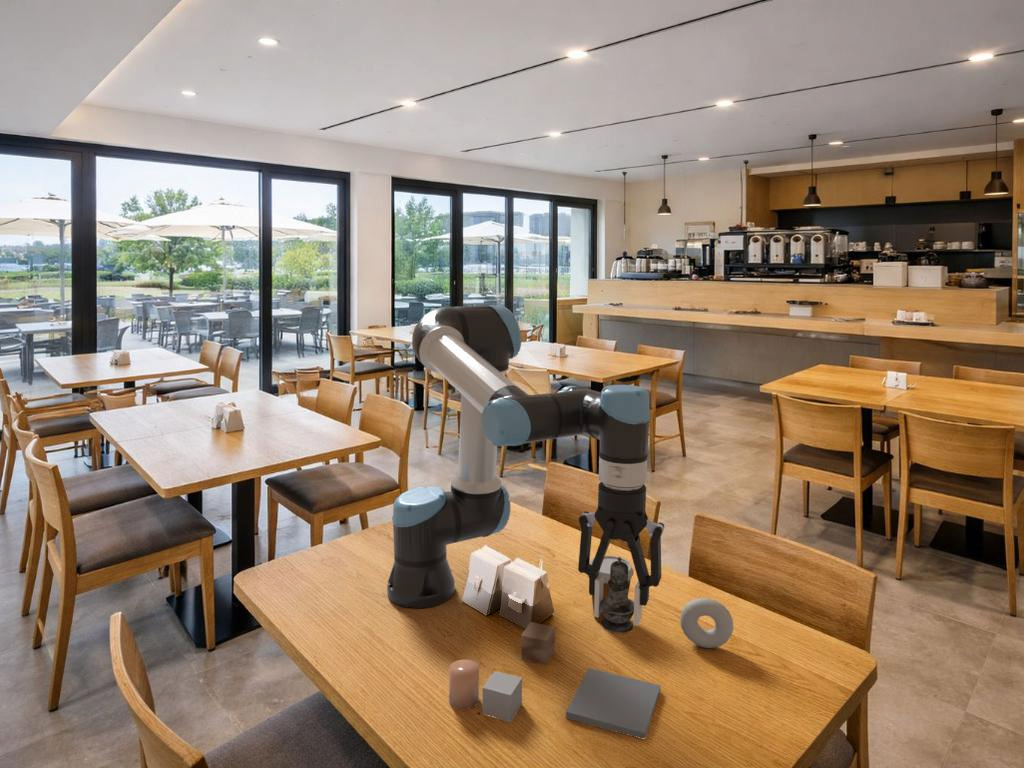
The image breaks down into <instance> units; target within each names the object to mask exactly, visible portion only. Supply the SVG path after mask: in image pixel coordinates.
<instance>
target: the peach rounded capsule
mask: <svg viewBox="0 0 1024 768" xmlns="http://www.w3.org/2000/svg"><path fill="white" fill-rule="evenodd" d="M448 668H449V671H448V675H449V678H448V682H449V683H448V689H449V690H448V702H449V704H450V706H451V707H452V708H454V709H456V708H457V709H456V710H460V709H467V710H469V709H468V708H471V707H473V708H474V707H476V706H475V705H476V704H477V705H478V703H479V694H480V693H479V691H480V690H479V685H480V681H479V680H480V678H479V677H480V667H479V664H478V663H477V662H476V661H473V660H471V659H459V660H455V661H453V662H452V663H451V664H450V665H449V667H448ZM471 709H472V708H471Z"/></svg>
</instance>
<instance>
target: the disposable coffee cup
mask: <svg viewBox="0 0 1024 768" xmlns="http://www.w3.org/2000/svg"><path fill="white" fill-rule="evenodd" d="M619 557H620V558H621V559H622V560H621V561H622V562H624V563H626V564H627V566H628V582H629V583H630V584H631V580H632V579H633V576H634V569H633V567H632V564H631V562H630V560H628V559H625V558H624V557H621V556H616V555H605V557H604V560H603V562H602V565H601V568H600V571H599V573H602V574H604V584H603V599H604V598H606V597H608V596H609V585H608V581H609V580H610V568H611V564H612V563H613V562H615V561H618V558H619ZM593 561H594V558H592V559H591V560H590V562H589V564H591V565H592V563H593ZM630 586H631V585H630ZM630 586H629V587H628V594H629V592H630ZM594 598H595V596H593V595H591V601H592V611H593V613H594ZM593 618H594V620H595V621H596V622H598V623H599V624H601V622H602V620H603V619H604V618H606V617H605V616H604V614H603V612H601V614H600V616H599V617H594V616H593Z"/></svg>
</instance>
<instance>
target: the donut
mask: <svg viewBox="0 0 1024 768" xmlns="http://www.w3.org/2000/svg"><path fill="white" fill-rule="evenodd" d="M730 612H731V611H729V610H728V609H727V607H726V606H725V605H724V604H722V603H721V602H720V601H718V600H716V599H713V598H709V597H697V598H693V599H692V600H690V601H688V603H686V604H685V605H684V607H683V608H682V610H681V612H680V617H679V620H680V627H681V629H682V631H683V634H684V635H685V636H686V638H687V639H688V640H689V641H690V642H692V643H693V644H695V645H697V646H699V647H701V648H704V649H706V648H707V649H714V648H717V647H722V646H723V645H725V644H726V643H727V642H728V641H729V640H730V639H731V637H732V636H733V632H734V631H733V630H734V628H735V627H734V619H733V617H732V615H731V613H730ZM703 616H705V617H706V616H707V617H709V618H711V619H712V620H713V621H714V623H715V625H714V627H713V628H711V629H704V628H703V627H701V625H699V619H700V618H702V617H703Z"/></svg>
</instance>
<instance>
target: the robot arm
mask: <svg viewBox="0 0 1024 768" xmlns="http://www.w3.org/2000/svg"><path fill="white" fill-rule="evenodd" d="M416 323H417V324H416V325H415V327H414V330H413V332H412V337H411V339H412V341H411V345H412V349H413V353H414V355H415V356H416V359H418V362H420V363H421V364H422V366H424V367H425V369H427V370H429V371H431V372H433V373H435V372H436V373H438V374H440V375H441V376H442V377H443V378H444V379H445V380H446V381H447V382H448V383H449V384H450V385H451V386H452V387H453V388H454V389H455V390H457V391H458V392H459V393H460V419H459V445H458V446H459V447H458V468H457V469H458V470H457V473H456V474H455V475H454V476H453V477H452V478H451V481H450V490H448V491H445V490H444V488H441V487H439V486H434V485H430V486H425V485H423V486H419V487H413V488H411V489H408V490H406V491H405V492H403V493H401V494H400V495H398V497H396V499H395V500H394V501H393V502H394V503H393V507H392V509H393V510H392V518H391V519H392V526H393V528H392V530H393V557H394V562H393V565H392V567H391V571H390V575H389V576H388V581H387V585H386V587H387V590H386V591H387V592H386V593H387V594H388V595H387V594H386V595H387V597H388V600H389V601H390V602H392V603H393V604H395V605H397V606H401V607H403V606H404V607H405V608H408V607H412V608H411V609H422V608H421V607H426V608H431V607H430V606H432V607H435V606H438V604H439V605H441V604H444V603H445V602H448V600H450V599H451V598H452V597H453V595H454V594H455V591H456V589H455V586H456V585H455V583H456V582H455V578H454V576H453V573H452V569H451V567H450V564H449V561H448V559H447V545H450V544H455V543H459V542H464V541H469V540H474V539H478V538H485V537H489V536H491V535H494V534H498V533H499V532H501V531H503V529H505V527H506V526H507V524H508V522H509V519H510V515H511V500H509V498H510V494H509V492H508V489H507V488H506V487H505V486H504V485H503V484H502V480H501V479H500V477H498V476H497V475H496V473H497V458H498V457H497V453H498V447H507V446H509V447H510V446H511V447H517V446H521V445H524V444H530V443H537V442H543V441H549V440H555V439H563V438H570V437H574V436H575V437H577V436H587V437H590V438H593V439H595V440H598V441H599V453H598V454H599V456H598V459H599V460H598V465H599V466H598V480H599V481H600V483H599V484H598V485H597V486H598V488H597V489H598V490H597V491H598V493H597V508H596V510H595V511H594V512H589V511H587V510H586V511H584V512H582V514H581V515H580V516H579V517H578V523H579V526H580V530H581V531H580V540H579V541H580V542H579V553H578V565H577V566H578V567H577V570H578V572H579V573H581V574H585V575H586V576H588V580H589V581H588V594H589V596H592V595H593V596H595V598H594V612H593V618H594V617H599V616H600V614H601V612H602V608H601V607H600V602H601V601H602V600H603V584H604V574H602V573H599V571H600V568H601V565H602V562H603V560H604V557H605V556H606V554H607V551H608V549H609V546H610V544H611V541H612V540H613V541H614V540H620V541H622V542H625V543H626V544H627V547H628V549H629V551H630V555H631V558H632V562H633V566H634V569H635V572H636V573H635V574H636V576H637V580H638V581H637V582H636V584H635V587H634V600H633V602H634V614H633V621H632V623H633V625H634V626H637V627H638V626H639V624H640V622H641V620H642V617H643V616H642V615H643V613H642V612H643V607H646V606H647V604H648V602H649V599H650V587H655V588H656V587H658V586H659V584H660V582H661V580H662V540H661V539H662V538H661V537H662V535H663V532H664V530H665V524H664V523H663V522H657V523H656V522H655V521H652V520H649V517H648V514H647V512H646V505H647V504H646V502H647V486H646V485H645V484H646V483H647V480H648V454H649V453H648V451H649V433H650V431H649V430H650V420H651V412H650V410H651V409H650V408H651V407H650V394H649V391H648V390H647V389H646V388H644V387H642V386H638V385H630V384H611V385H606V386H605V387H603V388H602V390H601V391H597V390H593V389H591V388H589V387H585V386H581V385H580V386H575V385H568V386H565V387H563V388H561V389H560V390H558V391H557V392H551V393H540V394H529V393H527V392H526V391H525V390H523V389H522V388H520V387H519V386H518V385H517V384H516V383H514V382H513V381H512V380H511V379H509V378H508V377H507V376H506V375H505V374H506V372H507V371H509V368H510V367H509V363H510V360H511V359H513V358H515V357H516V356H518V354H519V352H520V350H521V347H522V335H521V328H520V325H519V322H518V320H517V319H516V317H515V314H514V313H513V312H512V311H511V310H510V309H508V308H507V307H506V306H502V305H492V304H483V305H482V304H481V305H480V304H479V305H465V306H464V305H463V306H462V305H461V306H442V307H441V306H440V307H438V308H434V309H432V310H431V311H429V312H427V313H425V315H423V316H422V317H421V318H420V320H419V321H418V322H416ZM596 521H597V524H598V525H599V526H600V528H601V530H602V531H603V533H602V536H601V538H600V542H599V545H598V547H597V550H596V553H595V555H594V558H593V559H594V561H593V563H592V565H591V564H590V561H591V560H590V559H591V550H592V549H591V548H592V547H591V546H592V538H593V537H592V536H593V526H594V525H595V523H596ZM645 528H646V529H647V534H648V536H649V537H650V543H649V545H650V546H649V547H650V549H649V551H650V552H649V553H650V556H649V557H650V573H649V569H648V566H647V562H646V558H645V556H644V555H645V554H644V551H643V547H642V544H641V536H640V534H641V532H642V531H643V530H644V529H645Z"/></svg>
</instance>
